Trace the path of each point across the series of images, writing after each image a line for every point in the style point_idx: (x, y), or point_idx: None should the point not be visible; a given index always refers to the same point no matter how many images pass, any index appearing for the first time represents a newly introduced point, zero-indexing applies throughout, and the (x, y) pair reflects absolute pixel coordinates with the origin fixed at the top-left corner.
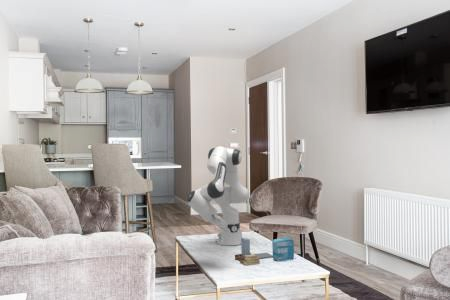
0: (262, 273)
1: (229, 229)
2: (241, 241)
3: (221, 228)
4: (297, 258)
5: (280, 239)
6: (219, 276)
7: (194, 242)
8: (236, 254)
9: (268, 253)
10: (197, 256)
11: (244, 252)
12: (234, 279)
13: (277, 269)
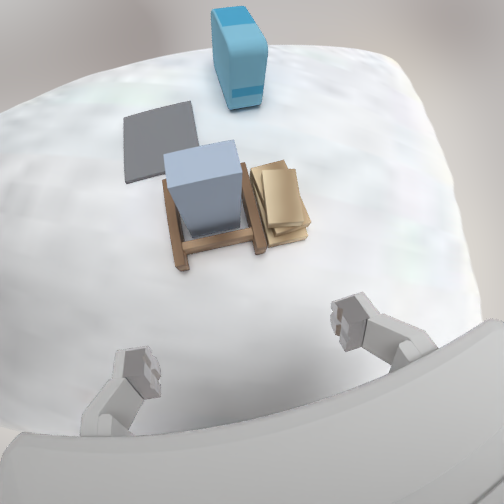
0: (417, 200)
1: (367, 299)
2: (176, 198)
3: (158, 381)
4: None
5: (240, 27)
6: None
7: None
8: (175, 256)
9: (139, 113)
10: None
11: (231, 212)
12: (467, 310)
13: (371, 137)
